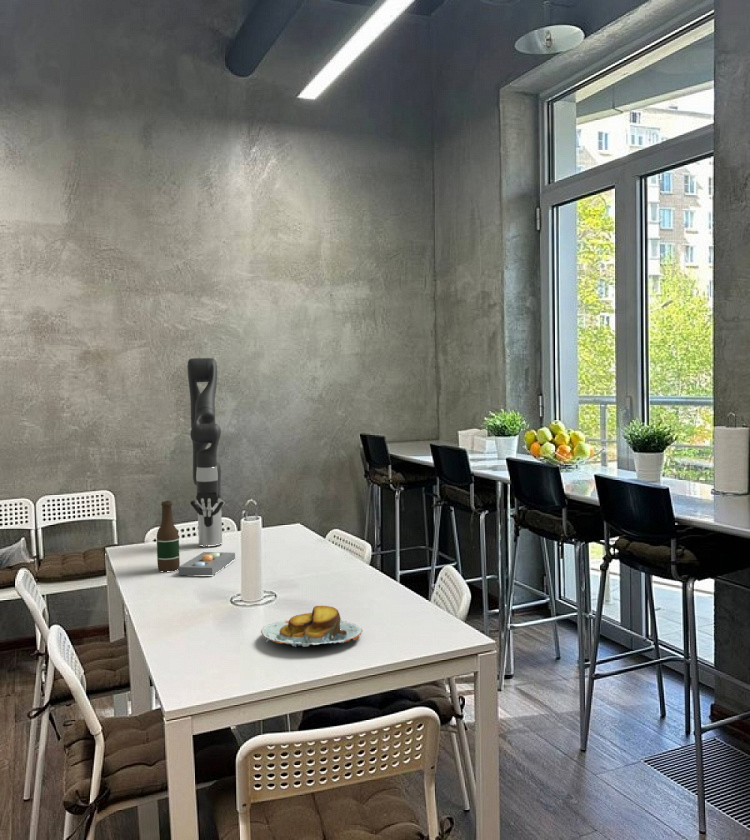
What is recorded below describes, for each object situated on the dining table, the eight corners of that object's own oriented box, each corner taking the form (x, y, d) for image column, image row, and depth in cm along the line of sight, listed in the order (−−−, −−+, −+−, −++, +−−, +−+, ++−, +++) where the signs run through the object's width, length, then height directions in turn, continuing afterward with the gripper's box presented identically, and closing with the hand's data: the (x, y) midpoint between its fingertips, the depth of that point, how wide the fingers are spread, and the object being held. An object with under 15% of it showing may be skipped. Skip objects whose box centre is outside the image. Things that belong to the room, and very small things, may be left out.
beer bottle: (176, 572, 263) (174, 503, 262) (154, 572, 263) (151, 503, 262) (182, 567, 271) (180, 499, 270) (161, 567, 271) (158, 500, 270)
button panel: (203, 560, 281) (203, 552, 281) (235, 560, 279) (235, 552, 279) (178, 575, 259) (178, 567, 259) (212, 576, 257) (212, 567, 257)
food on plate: (244, 637, 197) (243, 612, 196) (324, 617, 212) (324, 594, 212) (297, 664, 177) (296, 636, 176) (381, 641, 192) (381, 615, 192)
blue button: (196, 570, 264) (196, 561, 264) (206, 570, 263) (206, 561, 263) (192, 572, 260) (192, 564, 260) (202, 573, 260) (202, 564, 260)
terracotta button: (204, 562, 271) (204, 554, 271) (214, 562, 270) (214, 554, 270) (200, 565, 267) (200, 556, 267) (210, 565, 267) (210, 556, 266)
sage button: (212, 560, 278) (211, 552, 277) (221, 560, 277) (221, 552, 277) (208, 562, 274) (208, 554, 274) (217, 563, 273) (217, 554, 273)
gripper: (228, 477, 278) (229, 524, 279) (193, 477, 280) (195, 523, 281) (221, 480, 271) (222, 529, 272) (185, 480, 273) (187, 528, 274)
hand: (208, 526), depth 277 cm, fingers closed
